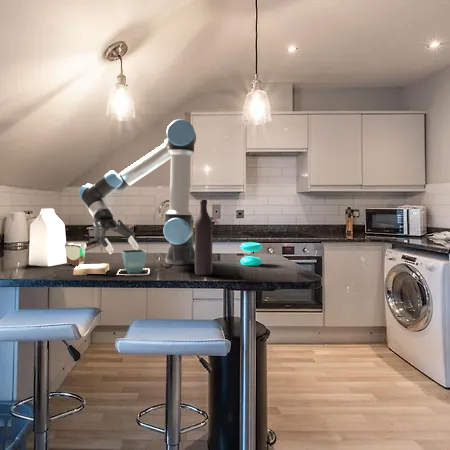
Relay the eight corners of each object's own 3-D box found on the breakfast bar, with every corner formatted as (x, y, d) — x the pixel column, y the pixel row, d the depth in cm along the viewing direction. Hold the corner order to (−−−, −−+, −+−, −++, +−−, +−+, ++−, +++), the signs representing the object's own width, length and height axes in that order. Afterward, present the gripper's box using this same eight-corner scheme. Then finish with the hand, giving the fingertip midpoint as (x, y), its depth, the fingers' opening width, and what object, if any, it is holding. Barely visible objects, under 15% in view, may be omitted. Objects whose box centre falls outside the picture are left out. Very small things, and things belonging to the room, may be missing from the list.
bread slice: (108, 269, 165) (108, 263, 164) (105, 274, 153) (105, 267, 153) (79, 270, 162) (79, 264, 162) (73, 275, 151) (73, 268, 151)
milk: (48, 266, 172) (47, 208, 171) (28, 265, 176) (27, 208, 175) (67, 262, 184) (66, 208, 182) (49, 261, 188) (48, 208, 186)
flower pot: (121, 271, 160) (121, 250, 159) (142, 270, 163) (142, 249, 163) (124, 275, 152) (124, 252, 151) (146, 273, 155) (146, 251, 155)
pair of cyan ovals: (257, 245, 172) (237, 244, 177) (257, 267, 173) (237, 265, 177) (265, 243, 181) (245, 242, 186) (264, 263, 182) (245, 262, 186)
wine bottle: (214, 275, 152) (214, 199, 151) (196, 276, 150) (196, 199, 149) (209, 272, 159) (209, 199, 157) (193, 272, 157) (193, 199, 155)
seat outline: (149, 269, 165) (149, 268, 165) (149, 274, 152) (149, 273, 152) (119, 270, 163) (119, 269, 163) (116, 275, 150) (116, 274, 150)
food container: (92, 264, 179) (92, 243, 178) (81, 266, 174) (81, 244, 173) (75, 262, 185) (75, 241, 185) (64, 263, 180) (64, 242, 180)
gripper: (119, 218, 178) (142, 253, 171) (72, 220, 157) (95, 259, 150) (127, 207, 175) (151, 242, 167) (79, 207, 154) (104, 247, 147)
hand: (125, 250), depth 159 cm, fingers open, 13 cm apart
